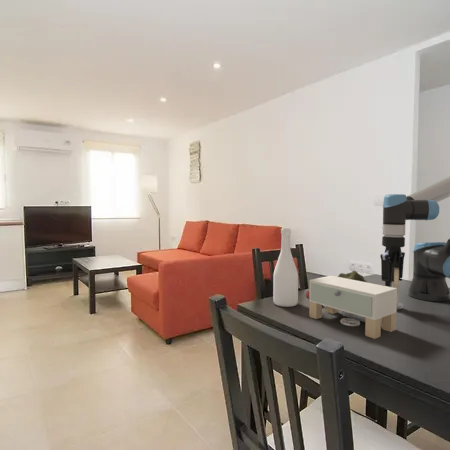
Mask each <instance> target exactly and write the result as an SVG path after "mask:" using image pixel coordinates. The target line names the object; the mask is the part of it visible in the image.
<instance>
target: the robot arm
mask: <svg viewBox="0 0 450 450" xmlns="http://www.w3.org/2000/svg"><path fill="white" fill-rule="evenodd" d="M449 197H450V175H449V176H447V177H445V178H442V179H441V180H439V181H437V182H434V183H432V184H430V185H427V186H425V187H424V188H422V189H419V190H418V191H415V192H413V193H411V194H409V195H406V194H402V193H400V194H398V193H397V194H396V193H393V194H386V195H384V197H383V204H382V227H381V228H382V235H383V236H381V237H382V240H381V245H382V247H385V248H384V249H385V250H384V253H383V254H382V253H381V254H380V257H379V258H380V260H381V266H380V269H381V271H380V273H381V274H380V275H381V277H380V278H381V281H382V282H384V286H387V287H393V282H392V278H393V269H394V267H395V268H399V282H400V281H401V282H402V280H403V276H404V275H403V274H404V261H405V260H404V259H405V255H406V252H404V251H402V248H404V247H405V245H406V243H405V242H406V238H405V235H406V223H407V222H406V221H432V220H433V221H434V220H436V219H437V218H438V216H439V214H440V205H439V202H441V201H443V200H446V199H447V198H449ZM412 253H413V264H412V265H413V266H412V267H413V268H412V269H413V270H412V272H413V274H412V279H411V281H410V284H409V287H408V289H407V295H408V296H410V297H412V298H414V299H418V300H422V301H429V302H446V301H447V302H448V301H450V290H449V287H448V283H447V280H446V279H447V278H448V279H450V238H447V241H445V242H444V241H442V242H440V241H438V242H437V241H435V242H430V241H429V242H428V241H427V242H416V243H415V244H414V246H413V251H412ZM399 288H400V283H399V284H398V294H399Z"/></svg>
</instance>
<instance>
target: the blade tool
mask: <svg viewBox="0 0 450 450" xmlns="http://www.w3.org/2000/svg"><path fill="white" fill-rule="evenodd" d="M392 282H393V288H397V309H396V311H398V310H401V309H404V303H400V302H399V293H398V284H399V285H400V281H399V268H395V267H394V269H393V278H392ZM342 316H343V317H346V318H352V319H356V320H359V321H360V322H363V323H366V317H362V316H359V315H355V314H352V313H348V312H345V311H342Z"/></svg>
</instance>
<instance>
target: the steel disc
mask: <svg viewBox="0 0 450 450" xmlns="http://www.w3.org/2000/svg"><path fill="white" fill-rule="evenodd" d="M340 323H341V324H342V325H343V326H348V327H358V326H360V325H361V321H359V320H356V319H353V318H350V317H343V318H341V319H340Z"/></svg>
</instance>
